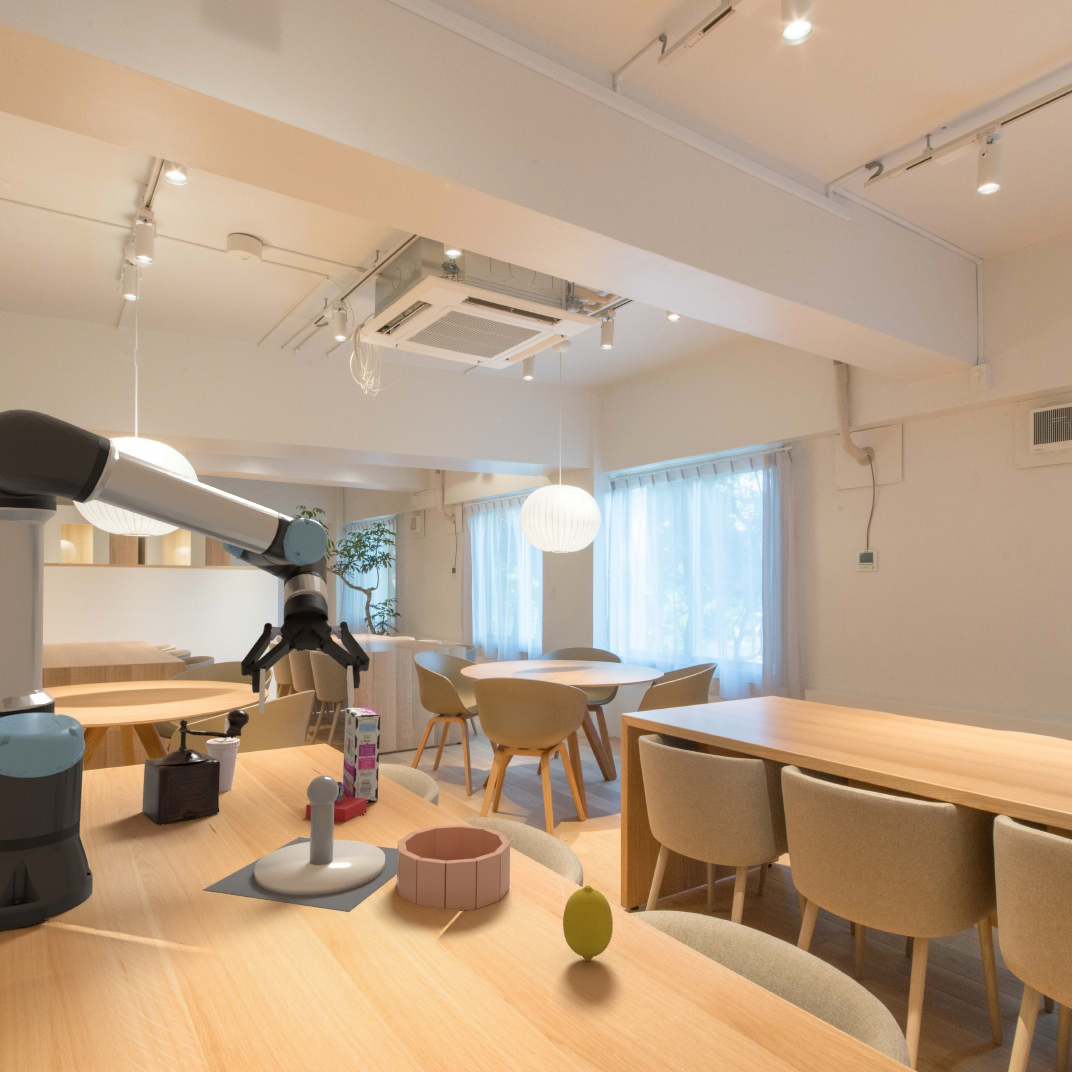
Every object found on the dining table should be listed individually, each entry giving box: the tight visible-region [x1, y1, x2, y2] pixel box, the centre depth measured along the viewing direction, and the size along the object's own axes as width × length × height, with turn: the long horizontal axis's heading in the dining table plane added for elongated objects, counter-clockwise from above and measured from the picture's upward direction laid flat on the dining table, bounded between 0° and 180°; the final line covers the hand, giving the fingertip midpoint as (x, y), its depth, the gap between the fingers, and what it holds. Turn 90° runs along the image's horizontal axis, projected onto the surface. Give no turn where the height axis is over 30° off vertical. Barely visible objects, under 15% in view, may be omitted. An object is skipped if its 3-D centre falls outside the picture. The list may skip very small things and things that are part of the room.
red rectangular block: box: [305, 781, 368, 823], centre depth 135 cm, size 8×7×6 cm
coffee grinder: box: [141, 709, 250, 826], centre depth 138 cm, size 16×11×18 cm
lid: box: [254, 774, 385, 895], centre depth 109 cm, size 18×18×13 cm
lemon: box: [562, 885, 614, 962], centre depth 84 cm, size 6×6×8 cm
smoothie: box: [205, 718, 241, 793], centre depth 152 cm, size 6×6×14 cm
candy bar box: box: [342, 706, 381, 803], centre depth 148 cm, size 11×5×16 cm, turn 25°
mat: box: [202, 836, 398, 913], centre depth 108 cm, size 22×22×1 cm
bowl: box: [396, 824, 511, 912], centre depth 104 cm, size 15×15×6 cm
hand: (307, 705), depth 119 cm, fingers open, 13 cm apart
